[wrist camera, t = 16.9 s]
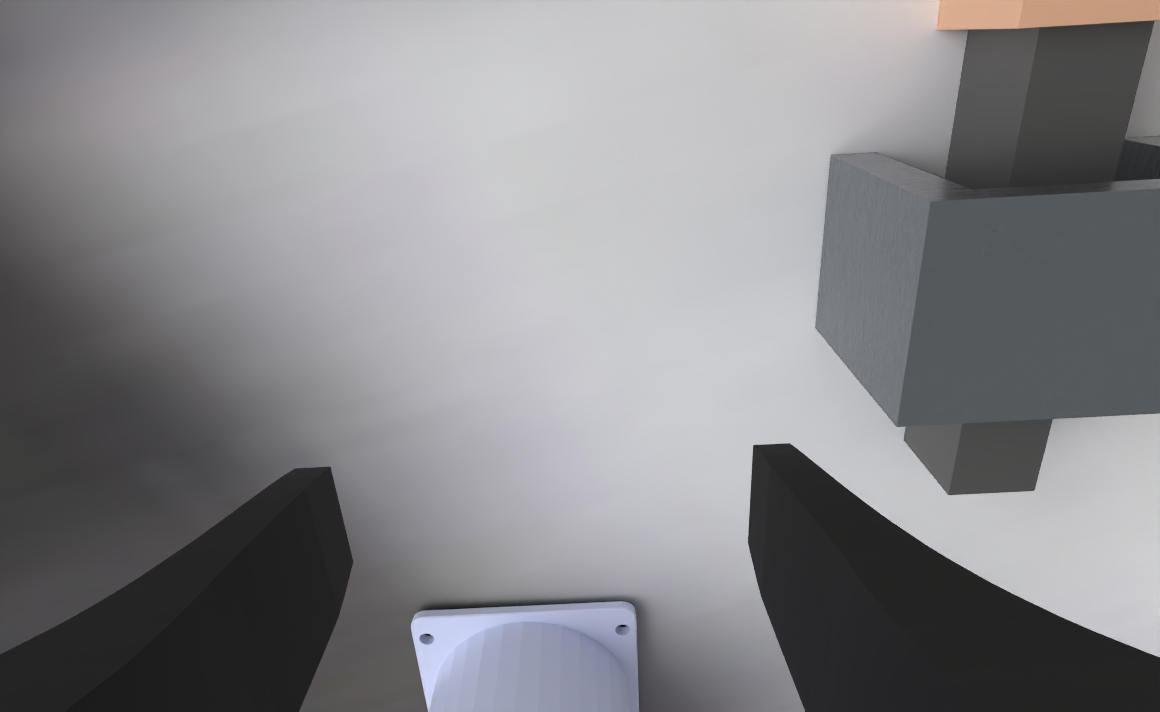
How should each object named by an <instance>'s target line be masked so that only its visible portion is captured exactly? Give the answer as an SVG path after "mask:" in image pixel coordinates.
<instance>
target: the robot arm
mask: <svg viewBox="0 0 1160 712" xmlns="http://www.w3.org/2000/svg"><path fill="white" fill-rule="evenodd" d="M748 544H749V549H750V553H751V557H752V561H753V566H754V570H755V574H756V578H757V582H758V586H759V590H760V594H761V597H762V600H763V602H764V605H765V608H766V611H767V613H768V616H769V618H770V621H771V624H772V626H773V629H774V632H775V634H776V637H777V639H778V642H779V645H780V647H781V650H782V652H783V655H784V657H785V660H786V663H787V665H788V668H789V670H790V673H791V675H792V678H793V681H794V683H795V686H796V688H797V691H798V694H799V696H800V699H801V701H802V704H803V706H804V709H805V712H1160V657H1157V656H1154V655H1152V654H1149V653H1146V652H1144V651H1141V650H1139V649H1136V648H1134V647H1131V646H1129V645H1126V644H1124V643H1121V642H1119V641H1116V640H1114V639H1111V638H1109V637H1106V636H1104V635H1101V634H1099V633H1096V632H1094V631H1092V630H1089V629H1087V628H1085V627H1082V626H1080V625H1078V624H1076V623H1073V622H1071V621H1069V620H1066V619H1064V618H1062V617H1060V616H1057V615H1055V614H1053V613H1051V612H1049V611H1047V610H1045V609H1043V608H1041V607H1039V606H1036V605H1034V604H1032V603H1030V602H1028V601H1026V600H1024V599H1022V598H1020V597H1018V596H1016V595H1014V594H1011V593H1010V592H1008V591H1006V590H1004V589H1002V588H1000V587H998V586H996V585H994V584H992V583H990V582H988V581H987V580H985V579H983V578H981V577H979V576H978V575H976V574H974V573H972V572H971V571H969V570H967V569H965V568H964V567H962V566H960V565H958V564H957V563H955V562H953V561H951V560H950V559H948V558H946V557H944V556H943V555H941V554H940V553H938V552H936V551H935V550H933V549H931V548H930V547H928V546H927V545H925V544H924V543H922V542H921V541H919V540H918V539H916V538H915V537H913V536H912V535H910V534H909V533H907V532H906V531H904V530H903V529H901V528H900V527H898V526H897V525H895V524H894V523H892V522H891V521H890V520H888V519H887V518H885V517H884V516H883V515H881V514H880V513H878V512H877V511H876V510H874V509H873V508H872V507H870V506H869V505H867V504H866V503H865V502H863V501H862V500H861V499H860V498H858V497H857V496H856V495H854V494H853V493H852V492H850V491H849V490H848V489H847V488H845V487H844V486H843V485H841V484H840V483H839V482H838V481H836V480H835V479H834V478H833V477H831V476H830V475H829V474H828V473H826V472H825V471H824V470H823V469H821V468H820V467H819V466H818V465H817V464H815V463H814V462H813V461H812V460H810V459H809V458H808V457H807V456H805V455H804V454H803V453H802V452H800V451H799V450H798V449H797V448H795V447H794V446H792V445H791V444H790V443H789V444H769V445H753V461H752V480H751V498H750V517H749V535H748ZM352 564H353V559H352V555H351V551H350V547H349V542H348V538H347V534H346V530H345V526H344V522H343V517H342V513H341V509H340V505H339V501H338V497H337V492H336V488H335V484H334V480H333V476H332V472H331V467H317V468H297V469H294V470H292V471H290V472H289V473H287V474H286V475H284V476H282V477H281V478H280V479H278V480H277V481H275V482H274V483H272V484H271V485H270V486H268V487H267V488H265V489H264V490H263V491H261V492H260V493H258V494H257V495H256V496H254V497H253V498H252V499H250V500H249V501H248V502H246V503H245V504H244V505H242V506H241V507H239V508H238V509H237V510H235V511H234V512H233V513H231V514H230V515H229V516H227V517H226V518H224V519H223V520H222V521H220V522H219V523H218V524H216V525H215V526H213V527H212V528H211V529H209V530H208V531H207V532H205V533H204V534H203V535H201V536H200V537H198V538H197V539H196V540H194V541H193V542H191V543H190V544H188V545H187V546H185V547H184V548H182V549H181V550H179V551H178V552H176V553H175V554H173V555H172V556H170V557H169V558H167V559H166V560H164V561H163V562H162V563H160V564H159V565H157V566H156V567H154V568H153V569H151V570H150V571H148V572H147V573H145V574H144V575H142V576H141V577H139V578H138V579H136V580H135V581H133V582H131V583H130V584H128V585H127V586H125V587H123V588H122V589H120V590H118V591H117V592H115V593H114V594H112V595H110V596H109V597H107V598H105V599H103V600H102V601H100V602H98V603H97V604H95V605H93V606H91V607H90V608H88V609H86V610H84V611H83V612H81V613H79V614H77V615H76V616H74V617H72V618H70V619H69V620H67V621H65V622H63V623H61V624H59V625H58V626H56V627H54V628H52V629H50V630H48V631H46V632H44V633H42V634H40V635H38V636H36V637H34V638H32V639H30V640H28V641H26V642H24V643H22V644H20V645H18V646H16V647H14V648H12V649H10V650H8V651H6V652H4V653H2V654H0V712H299V710H300V708H301V705H302V703H303V701H304V698H305V696H306V693H307V691H308V689H309V686H310V684H311V682H312V679H313V677H314V675H315V672H316V670H317V668H318V665H319V663H320V661H321V658H322V656H323V653H324V651H325V648H326V646H327V644H328V641H329V639H330V636H331V634H332V632H333V629H334V627H335V624H336V622H337V619H338V617H339V613H340V610H341V606H342V603H343V599H344V596H345V592H346V588H347V584H348V580H349V576H350V572H351V568H352ZM622 624H623V625H627V626H625V627H618V625H622ZM411 631H412V635H413V640H414V645H415V650H416V655H417V660H418V664H419V669H420V674H421V679H422V684H423V689H424V693H425V698H426V703H427V708H428V712H639V691H638V657H637V624H636V611H635V607H634V606H633V605H632V604H630V603H628V602H623V601H618V602H596V603H575V604H554V605H533V606H511V607H490V608H469V609H448V610H426V611H420V612H418V613H416V614H415V615H414V617H413V620H412V623H411ZM425 634H430V635H432V636H426V635H425Z"/></svg>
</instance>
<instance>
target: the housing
mask: <svg viewBox="0 0 1160 712" xmlns="http://www.w3.org/2000/svg"><path fill="white" fill-rule="evenodd" d="M815 328H816V329H817V331H818V332H819V333H820V334H821V335H822V337H823V338H824V339H825V340H826V342H827V343H828V344H829V345H830V346H831V348H832V349H833V350H834V351H835V352H836V354H837V355H838V356H839V357H840V359H841V360H842V361H843V362H844V363H845V365H846V366H847V367H848V368H849V369H850V371H851V372H852V373H853V374H854V376H855V377H856V378H857V379H858V380H859V382H860V383H861V384H862V385H863V386H864V388H865V389H866V390H867V391H868V393H869V394H870V395H871V396H872V397H873V399H874V400H875V401H876V402H877V403H878V405H879V406H880V407H881V408H882V409H883V411H884V412H885V413H886V414H887V416H888V417H889V418H890V419H891V420H892V422H893V423H894V424H895V425H896V426H897V427H902V426H921V425H941V424H960V423H980V422H1000V421H1019V420H1039V419H1058V418H1078V417H1097V416H1117V415H1137V414H1156V413H1160V136H1152V137H1135V138H1124V142H1123V146H1122V150H1121V154H1120V157H1119V161H1118V165H1117V169H1116V173H1115V177H1114V181H1113V182H1096V183H1079V184H1061V185H1043V186H1026V187H1008V188H991V189H973V190H972V189H969V188H967V187H964V186H962V185H959V184H956V183H954V182H951V181H949V180H946V179H943V178H941V177H938V176H936V175H933V174H930V173H928V172H925V171H923V170H920V169H918V168H915V167H912V166H910V165H907V164H905V163H902V162H899V161H897V160H894V159H892V158H889V157H886V156H884V155H881V154H879V153H859V154H842V155H831V159H830V171H829V182H828V193H827V204H826V215H825V226H824V238H823V249H822V260H821V271H820V282H819V294H818V305H817V316H816V327H815Z"/></svg>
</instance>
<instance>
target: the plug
mask: <svg viewBox="0 0 1160 712" xmlns="http://www.w3.org/2000/svg"><path fill="white" fill-rule="evenodd" d="M1155 20H1160V0H940V7H939V15H938V22H937V29H936V30H962V29H968V35H967V41H966V47H965V54H964V60H963V66H962V73H961V79H960V86H959V92H958V98H957V105H956V111H955V117H954V124H953V130H952V136H951V143H950V149H949V156H948V162H947V168H946V175H945V179H946V180H949V181H951V182H954V183H956V184H959V185H962V186H964V187H967V188H969V189H972V190H973V189H991V188H1008V187H1026V186H1043V185H1061V184H1079V183H1096V182H1113V181H1114V177H1115V173H1116V169H1117V165H1118V161H1119V157H1120V154H1121V150H1122V146H1123V142H1124V138H1125V134H1126V130H1127V126H1128V122H1129V118H1130V114H1131V110H1132V107H1133V103H1134V99H1135V95H1136V91H1137V87H1138V83H1139V79H1140V75H1141V71H1142V67H1143V64H1144V60H1145V56H1146V52H1147V48H1148V44H1149V40H1150V36H1151V32H1152V28H1153V24H1154V21H1155ZM1052 420H1053V419H1039V420H1019V421H1000V422H980V423H960V424H941V425H921V426H906V429H905V436H904V441H905V442H906V443H907V445H908V446H909V447H910V448H911V450H912V451H913V452H914V453H915V454H916V456H917V457H918V458H919V459H920V461H921V462H922V463H923V464H924V466H925V467H926V468H927V469H928V470H929V472H930V473H931V474H932V475H933V477H934V478H935V479H936V480H937V482H938V483H939V484H940V485H941V486H942V488H943V489H944V490H945V491H946V493H947V494H948V495H959V494H979V493H1000V492H1020V491H1034V490H1035V486H1036V482H1037V478H1038V474H1039V470H1040V467H1041V463H1042V459H1043V455H1044V451H1045V447H1046V443H1047V439H1048V435H1049V431H1050V427H1051V423H1052Z"/></svg>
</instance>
